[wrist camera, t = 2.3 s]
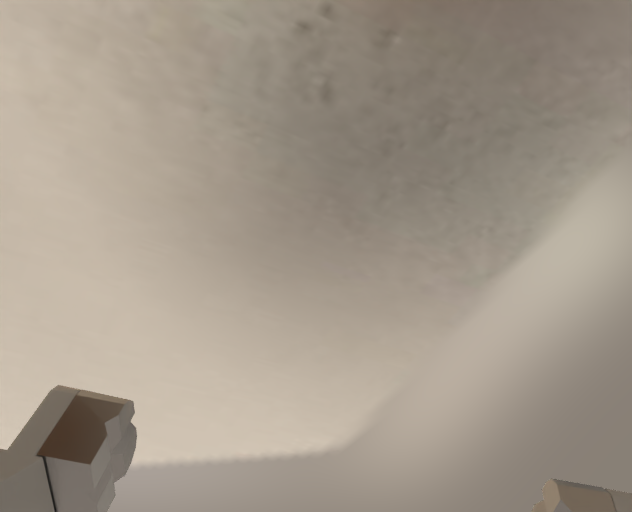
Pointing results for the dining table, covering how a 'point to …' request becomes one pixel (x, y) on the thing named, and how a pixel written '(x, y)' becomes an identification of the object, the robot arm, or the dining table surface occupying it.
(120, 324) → the dining table surface
